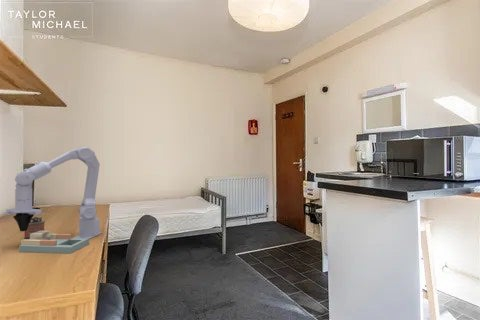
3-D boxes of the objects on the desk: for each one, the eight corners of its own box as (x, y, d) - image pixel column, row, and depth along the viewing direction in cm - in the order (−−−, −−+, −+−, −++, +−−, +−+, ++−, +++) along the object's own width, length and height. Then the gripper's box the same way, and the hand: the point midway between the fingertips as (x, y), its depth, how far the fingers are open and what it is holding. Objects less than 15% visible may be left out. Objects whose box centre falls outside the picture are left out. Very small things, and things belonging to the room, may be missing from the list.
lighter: (43, 235, 133) (43, 215, 133) (45, 236, 131) (45, 216, 131) (23, 238, 127) (23, 217, 127) (25, 240, 125) (25, 218, 125)
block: (39, 239, 118) (39, 230, 118) (50, 239, 117) (50, 230, 117) (29, 243, 113) (29, 233, 113) (41, 243, 112) (41, 234, 112)
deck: (42, 242, 121) (42, 232, 121) (89, 243, 120) (89, 234, 120) (19, 251, 109) (19, 241, 109) (70, 253, 108) (70, 242, 108)
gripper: (-1, 200, 112) (-1, 232, 112) (32, 201, 111) (31, 233, 111) (14, 198, 119) (14, 228, 119) (45, 198, 118) (45, 229, 118)
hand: (23, 230), depth 115 cm, fingers closed
